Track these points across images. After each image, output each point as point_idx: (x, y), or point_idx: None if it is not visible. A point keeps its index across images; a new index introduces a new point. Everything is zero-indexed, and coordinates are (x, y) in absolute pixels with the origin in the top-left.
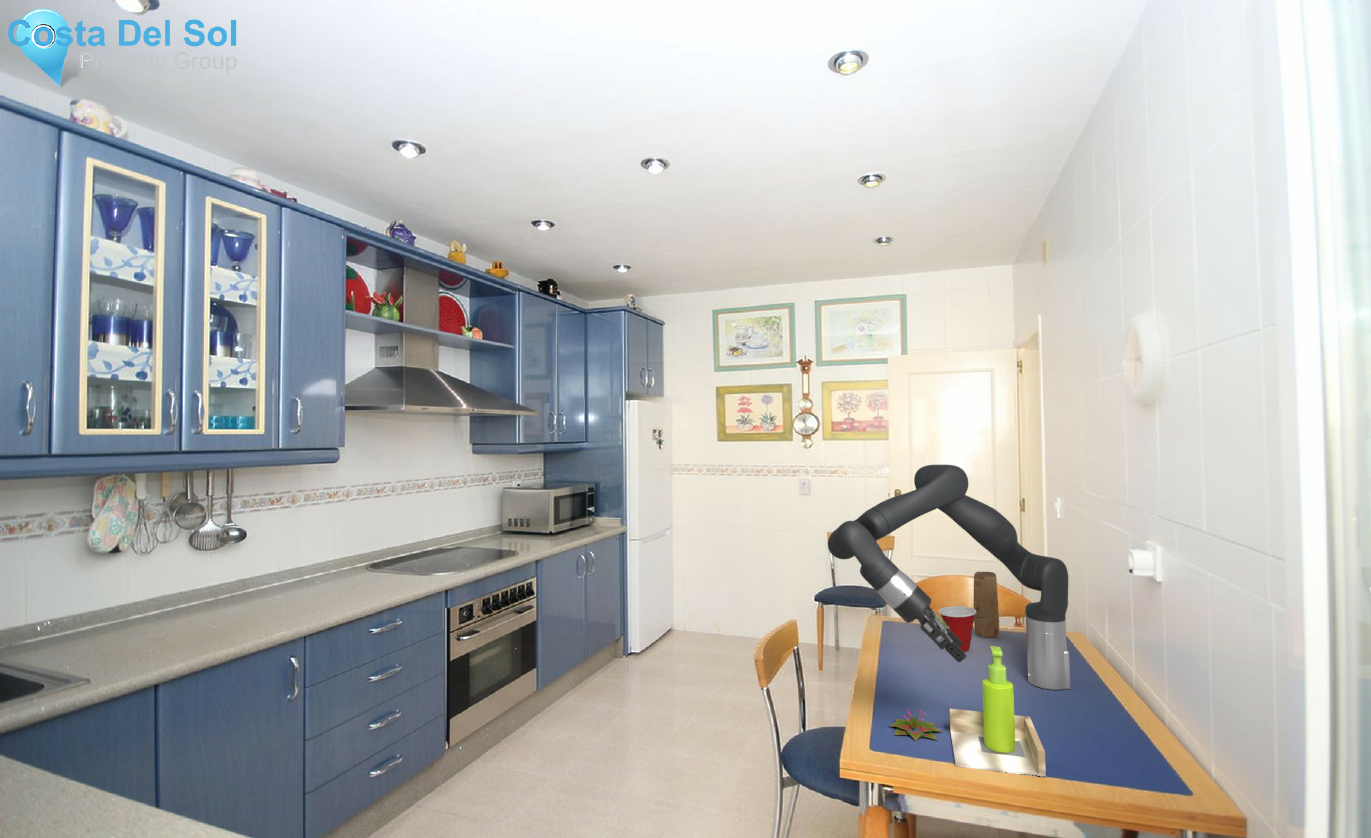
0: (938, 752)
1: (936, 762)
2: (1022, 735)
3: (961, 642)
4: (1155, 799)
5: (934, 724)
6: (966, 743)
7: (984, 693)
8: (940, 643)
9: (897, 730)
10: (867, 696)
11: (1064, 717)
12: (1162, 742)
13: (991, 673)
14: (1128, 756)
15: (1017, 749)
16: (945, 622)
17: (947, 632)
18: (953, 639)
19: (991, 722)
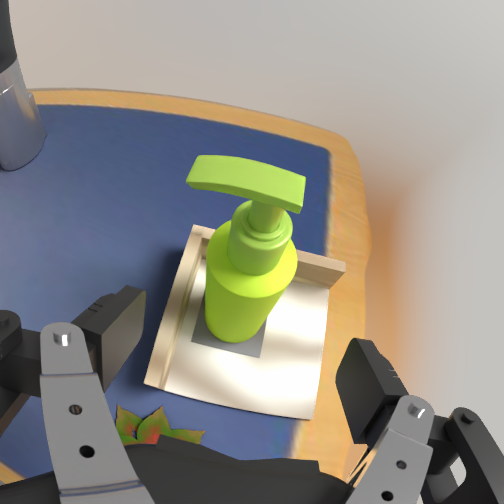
0: (256, 440)
1: (299, 451)
2: (200, 258)
3: (141, 293)
4: (349, 184)
5: (126, 410)
6: (223, 377)
7: (256, 307)
8: (447, 469)
9: None
10: (5, 477)
11: (117, 169)
12: (204, 112)
13: (274, 258)
14: (244, 153)
15: None
16: (4, 320)
17: (93, 355)
18: (124, 331)
19: (263, 320)
